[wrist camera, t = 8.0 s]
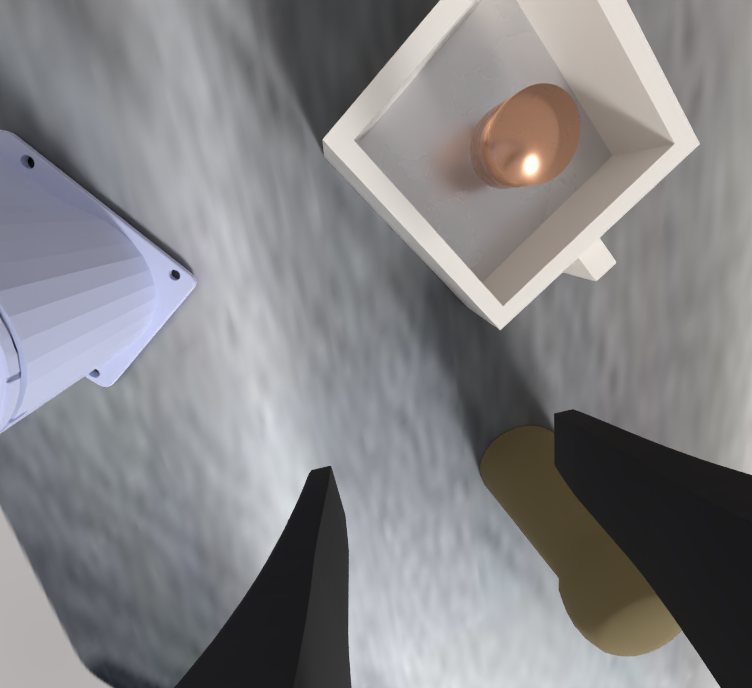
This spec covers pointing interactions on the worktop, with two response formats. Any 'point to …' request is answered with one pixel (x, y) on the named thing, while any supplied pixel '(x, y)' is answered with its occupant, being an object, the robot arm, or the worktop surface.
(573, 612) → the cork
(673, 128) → the white shallow open box
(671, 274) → the worktop surface
